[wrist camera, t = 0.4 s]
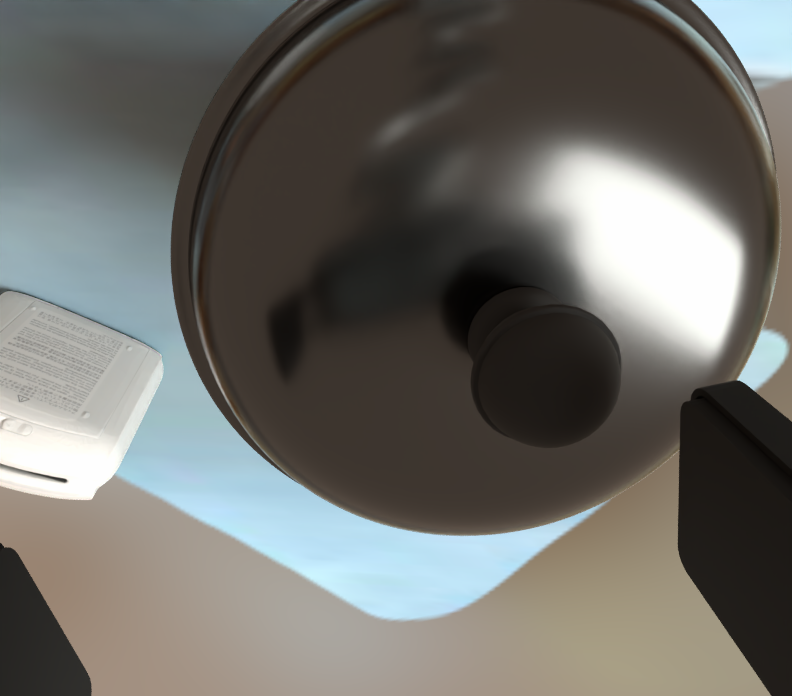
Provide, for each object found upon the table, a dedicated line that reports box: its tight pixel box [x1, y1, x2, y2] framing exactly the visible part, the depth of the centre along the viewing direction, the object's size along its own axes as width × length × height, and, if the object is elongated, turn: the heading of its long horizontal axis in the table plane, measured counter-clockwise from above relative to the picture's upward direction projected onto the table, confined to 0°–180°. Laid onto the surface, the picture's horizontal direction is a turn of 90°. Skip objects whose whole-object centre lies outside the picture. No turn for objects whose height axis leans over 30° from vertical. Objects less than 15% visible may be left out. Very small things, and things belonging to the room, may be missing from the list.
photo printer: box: [0, 291, 163, 500], centre depth 34 cm, size 10×4×12 cm, turn 61°
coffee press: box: [171, 0, 781, 536], centre depth 23 cm, size 17×16×30 cm
